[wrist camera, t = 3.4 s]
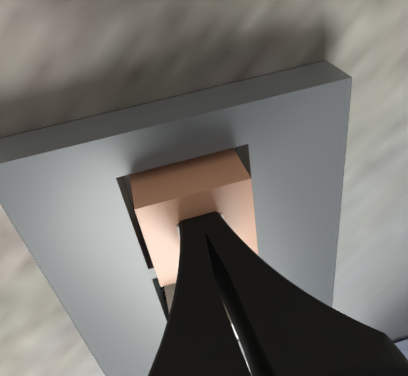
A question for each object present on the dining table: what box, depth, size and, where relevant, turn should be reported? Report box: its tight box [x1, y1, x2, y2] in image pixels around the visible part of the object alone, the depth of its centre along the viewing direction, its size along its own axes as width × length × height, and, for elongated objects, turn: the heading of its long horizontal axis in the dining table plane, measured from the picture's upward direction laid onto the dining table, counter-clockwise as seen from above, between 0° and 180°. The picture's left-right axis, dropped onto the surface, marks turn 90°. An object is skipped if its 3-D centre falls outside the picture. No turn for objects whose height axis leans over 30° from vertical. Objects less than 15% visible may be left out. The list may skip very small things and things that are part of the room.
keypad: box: [0, 61, 352, 376], centre depth 18 cm, size 12×18×2 cm, turn 10°
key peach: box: [129, 148, 258, 287], centre depth 14 cm, size 4×4×3 cm
